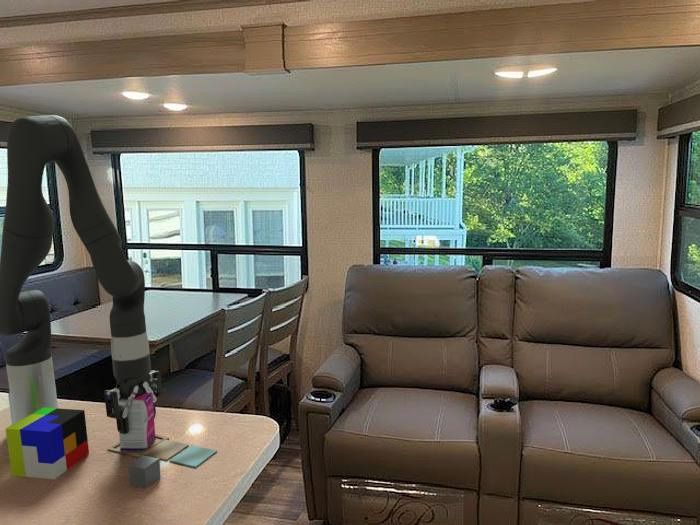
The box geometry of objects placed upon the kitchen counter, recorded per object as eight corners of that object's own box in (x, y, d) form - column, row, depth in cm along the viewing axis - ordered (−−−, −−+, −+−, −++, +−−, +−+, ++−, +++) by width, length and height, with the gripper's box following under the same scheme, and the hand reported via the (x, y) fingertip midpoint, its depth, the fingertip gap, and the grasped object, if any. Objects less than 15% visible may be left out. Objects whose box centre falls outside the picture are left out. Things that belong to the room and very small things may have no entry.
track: (107, 450, 115) (107, 448, 115) (139, 432, 123) (138, 430, 123) (192, 470, 106) (191, 469, 106) (220, 449, 114) (220, 448, 114)
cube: (129, 484, 102) (127, 465, 101) (144, 474, 106) (142, 455, 105) (146, 488, 100) (144, 468, 100) (160, 477, 104) (159, 458, 104)
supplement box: (146, 450, 115) (141, 400, 113) (119, 451, 115) (114, 400, 113) (157, 438, 120) (152, 389, 119) (131, 438, 120) (126, 390, 119)
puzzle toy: (54, 479, 104) (49, 431, 103) (11, 475, 106) (5, 428, 105) (89, 454, 114) (84, 410, 113) (49, 450, 116) (43, 407, 115)
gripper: (117, 366, 106) (125, 443, 109) (168, 345, 119) (173, 414, 122) (90, 362, 109) (98, 437, 112) (142, 342, 122) (149, 410, 125)
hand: (137, 425), depth 117 cm, fingers closed on supplement box, 7 cm apart
